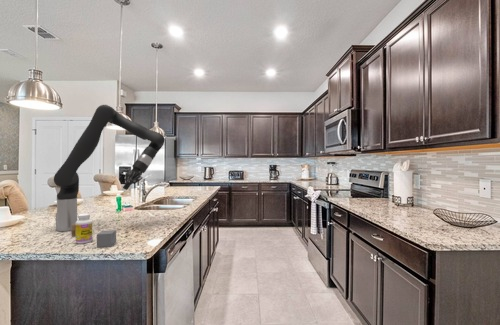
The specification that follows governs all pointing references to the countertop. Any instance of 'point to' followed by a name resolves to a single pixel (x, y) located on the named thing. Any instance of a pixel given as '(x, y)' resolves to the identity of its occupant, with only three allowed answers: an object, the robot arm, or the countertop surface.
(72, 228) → the walnut block
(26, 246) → the countertop surface
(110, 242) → the charcoal block
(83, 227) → the supplement bottle
